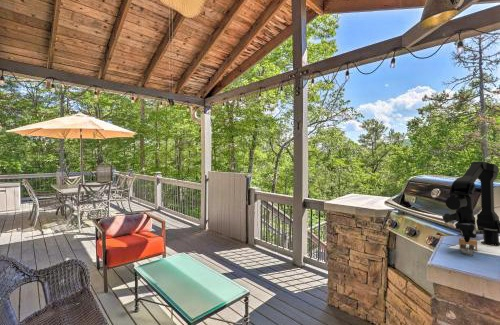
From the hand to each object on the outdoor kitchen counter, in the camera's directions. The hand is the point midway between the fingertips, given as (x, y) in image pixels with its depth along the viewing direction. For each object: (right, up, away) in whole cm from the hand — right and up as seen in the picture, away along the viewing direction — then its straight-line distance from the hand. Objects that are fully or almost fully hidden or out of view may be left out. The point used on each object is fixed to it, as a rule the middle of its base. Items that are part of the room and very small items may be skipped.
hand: (466, 242), depth 120 cm
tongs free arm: (+4, -5, +6) cm, 9 cm away
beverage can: (+22, -5, +26) cm, 34 cm away
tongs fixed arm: (+4, -5, +3) cm, 7 cm away
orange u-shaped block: (+5, -5, +5) cm, 8 cm away
